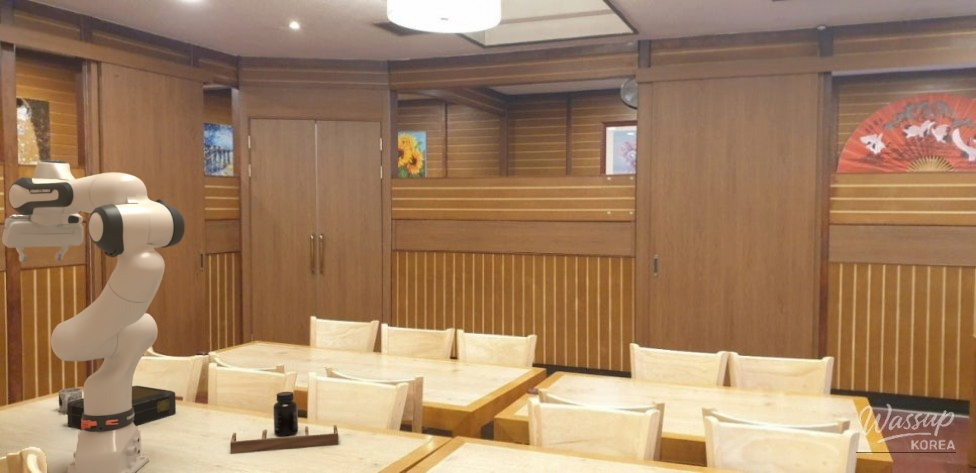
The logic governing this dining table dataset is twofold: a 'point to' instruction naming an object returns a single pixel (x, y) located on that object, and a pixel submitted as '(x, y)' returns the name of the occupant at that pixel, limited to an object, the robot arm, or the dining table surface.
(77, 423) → the cash box
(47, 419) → the dining table surface
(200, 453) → the dining table surface
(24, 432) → the dining table surface
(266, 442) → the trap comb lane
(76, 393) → the mug
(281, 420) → the supplement bottle
